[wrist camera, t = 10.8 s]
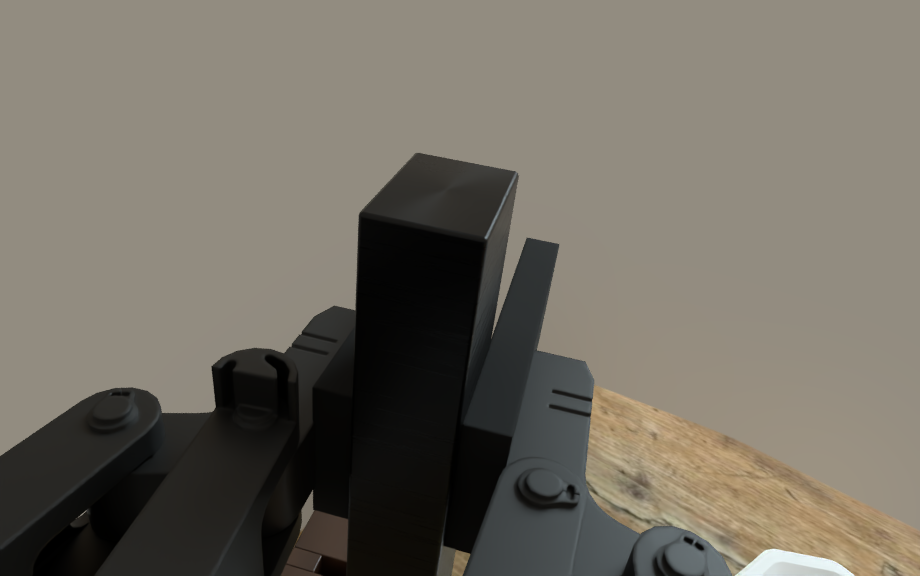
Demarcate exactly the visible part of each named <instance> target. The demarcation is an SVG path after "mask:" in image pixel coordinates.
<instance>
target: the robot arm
mask: <svg viewBox="0 0 920 576" xmlns="http://www.w3.org/2000/svg"><path fill="white" fill-rule="evenodd" d="M558 248H559V244H555V243H551V242H546V241H541V240H536V239H531V238H527V239H526V242H525V245H524V247H523V250H522V253H521V256H520V259H519V262H518V265H517V268H516V270H515V273H514V276H513V279H512V282H511V285H510V288H509V291H508V293H507V296H506V299H505V302H504V304H503V308H502V310H501V313H500V316H499V319H498V322H497V325H496V327H495V330H494V333H493V336H492V339H491V343H490V347H489V350H488V353H487V356H486V359H485V362H484V365H483V368H482V370H481V373H480V376H479V379H478V382H477V385H476V388H475V391H474V393H473V396H472V399H471V402H470V405H469V408H468V411H467V414H466V417H465V419H464V422H463V425H462V432H461V438H460V445H459V451H458V458H457V464H456V471H455V478H454V484H453V491H452V497H451V504H450V510H449V517H448V523H447V530H446V536H445V543H444V546H445V547H449V548H452V549H456V550H459V551H463V552H466V553H470V554H471V555H470V557H469V560H468V563H467V566H466V568H465V571H464V574H463V576H732V574H731V572H730V570H729V568H728V566H727V564H726V562H725V560H724V558H723V557H722V556H721V555H720V554H719V553H718V552H717V550H716V549H715V548H714V547H713V546H712V545H711V544H710V543H709V542H707V541H706V540H704V539H702V538H701V537H699V536H697V535H696V534H694V533H692V532H691V531H687V530H684V529H681V528H677V527H674V526H656V527H653V528H651V529H649V530H647V531H645V532H642V533H641V534H639V533H637V532H635V531H633V530H632V529H630V528H628V527H626V526H624V525H623V524H621V523H619V522H618V521H616V520H615V519H613V518H612V517H610V516H609V515H607V514H606V513H605V512H604V511H603V510H602V509H601V508H600V507H599V506H598V505H597V504H596V502H595V501H594V500H593V498H592V497H591V495H590V493H589V491H588V488H587V485H586V478H585V471H586V461H587V450H588V440H589V430H590V419H591V418H590V416H591V409H592V399H593V388H594V379H593V377H592V375H591V373H590V370H589V368H588V366H587V364H586V362H585V361H580V360H575V359H572V358H567V357H563V356H558V355H554V354H550V353H546V352H541V351H537V346H538V342H539V338H540V333H541V328H542V323H543V319H544V314H545V310H546V305H547V300H548V295H549V291H550V286H551V281H552V277H553V272H554V267H555V262H556V258H557V253H558ZM354 339H355V310H351V309H346V308H342V307H338V306H333V307H331V308H329V309H327V310H325V311H324V312H322V313H320V314H318V315H316V316H315V317H313V319H312V320H311V321H310V322H309V324H308V325H307V326H306V327H305V328H304V330H303V331H302V334H301V335H299V336H298V337H297V338H296V340H295V341H294V342H293V343H292V347H289V348H288V349H287V351H286V352H285V353H281V352H278V351H275V350H272V349H261V348H252V349H246V350H240V351H236V352H234V353H232V354H229V355H227V356H225V357H222V358H221V359H220V360H219V361H217V362H216V363H215V364H214V365H213V366H212V375H213V384H214V394H215V403H216V408H215V410H214V411H213V412H209V413H162V411H161V406H160V404H159V401H158V399H157V398H156V397H155V396H154V395H152V394H151V393H149V392H148V391H145V390H141V389H136V388H114V389H110V390H106V391H103V392H99V393H96V394H94V395H92V396H90V397H88V398H86V399H84V400H82V401H80V402H79V403H78V404H76V405H75V406H73V407H72V408H71V409H69V410H68V411H66V412H65V413H63V414H61V415H60V416H58V417H57V418H56V419H54V420H53V421H51V422H50V423H48V424H47V425H45V426H44V427H42V428H41V429H39V430H38V431H36V432H35V433H33V434H32V435H31V436H29V437H28V438H26V439H25V440H23V441H22V442H20V443H19V444H17V445H16V446H14V447H13V448H11V449H10V450H9V451H7V452H6V453H4V454H3V455H1V456H0V576H281V574H282V572H283V570H284V567H285V565H286V563H287V561H288V558H289V556H290V554H291V552H292V549H293V547H294V545H295V543H296V540H297V538H298V536H299V533H300V528H301V523H302V519H301V518H302V514H301V509H302V507H303V506H304V504H305V502H306V500H307V499H308V497H309V495H310V494H311V492H312V490H313V510H316V511H320V512H323V513H327V514H330V515H334V516H337V517H341V518H345V519H348V511H349V482H350V453H351V425H352V396H353V367H354ZM86 510H87V511H86ZM85 511H86V512H85ZM83 512H85V513H84V514H83V515H82V516H80V515H81V514H82V513H83ZM79 516H80V517H79ZM78 517H79V518H78ZM76 518H77V519H76Z"/></svg>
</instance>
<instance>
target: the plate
mask: <svg viewBox="0 0 920 576" xmlns="http://www.w3.org/2000/svg"><path fill="white" fill-rule="evenodd" d="M736 576H855V575H853V574H852V573H851V572H849V571H848V570H847V569H846V568H844V567H843V566H842V565H840V564H838V563H836V562H834V561H832V560H829V559H824V558H818V557H813V556H808V555H803V554H798V553H793V552H788V551H782V550H777V549H769V550H765V551H764V552H763V553H761V554H760V555H759V556H758V557H757V558H755V559H754V560H753V561H752V562H751V563H750V564H748V565H747V566H746V567H745V568H744V569H743V570H741V571H740V572H739V573H738V574H737V575H736Z"/></svg>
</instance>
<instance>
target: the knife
mask: <svg viewBox="0 0 920 576" xmlns="http://www.w3.org/2000/svg"><path fill="white" fill-rule="evenodd" d="M517 182H518V173H517V172H515V171H510V170H505V169H499V168H494V167H489V166H483V165H479V164H473V163H468V162H463V161H458V160H453V159H447V158H442V157H437V156H432V155H426V154H421V153H415V154H414V156H413V157H412V158H411V159H410V160H409V161H408V162H407V163H406V164H405V165H404V166H403V167H402V168H401V169H400V170H399V171H398V172H397V174H396V175H395V176H394V177H393V178H392V179H391V180H390V181H389V182H388V183H387V184H386V185H385V186H384V187H383V188H382V189H381V191H380V192H379V193H378V194H377V195H376V196H375V197H374V198H373V199H372V200H371V201H370V202H369V203H368V204H367V205H366V206H365V208H364V209H363V210H362V211H361V212H360V214H359V224H358V225H359V226H358V253H357V283H356V310H355V339H354V367H353V396H352V425H351V453H350V482H349V511H348V539H347V568H346V576H451V575H452V569H453V563H454V557H455V551H456V549H452V548H449V547H445V546H444V543H445V536H446V530H447V523H448V517H449V510H450V504H451V497H452V491H453V484H454V478H455V471H456V464H457V458H458V451H459V445H460V438H461V432H462V425H463V422H464V419H465V417H466V414H467V411H468V408H469V405H470V402H471V399H472V396H473V393H474V391H475V388H476V385H477V382H478V379H479V376H480V373H481V370H482V368H483V365H484V362H485V359H486V356H487V353H488V350H489V347H490V343H491V337H492V331H493V325H494V319H495V313H496V307H497V301H498V295H499V289H500V283H501V277H502V272H503V266H504V260H505V254H506V247H507V242H508V236H509V229H510V224H511V218H512V212H513V206H514V200H515V194H516V188H517Z"/></svg>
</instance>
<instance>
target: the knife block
mask: <svg viewBox="0 0 920 576" xmlns="http://www.w3.org/2000/svg"><path fill="white" fill-rule="evenodd" d="M347 539H348V519H345V518H341V517H337V516H334V515H330V514H327V513H323V512H320V511H316V510H314V512H313V514H312V516H311V518H310V519H309V521H308V523H307V525H306V527H305V528H304V530H303V532H302V534H301V536H300V537H299V539H298V541H297V543H296V545H295V547H294V548H293V550H292V552H291V554H290V556H289V558H288V561H287V563H286V565H285V567H284V570H283V572H282V574H281V576H346V568H347Z"/></svg>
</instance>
